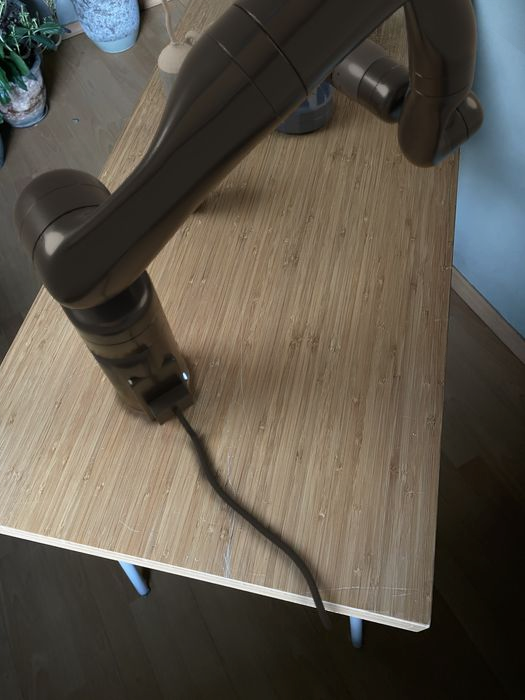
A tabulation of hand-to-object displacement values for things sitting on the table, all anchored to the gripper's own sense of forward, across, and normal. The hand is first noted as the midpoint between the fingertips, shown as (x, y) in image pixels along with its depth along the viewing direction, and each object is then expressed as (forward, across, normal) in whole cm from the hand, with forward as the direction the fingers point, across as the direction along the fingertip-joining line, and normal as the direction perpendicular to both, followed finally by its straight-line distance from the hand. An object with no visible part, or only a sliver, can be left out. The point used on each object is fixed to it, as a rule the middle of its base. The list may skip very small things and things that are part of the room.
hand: (285, 16), depth 90 cm
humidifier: (+7, +16, +16) cm, 23 cm away
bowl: (-2, 0, +16) cm, 16 cm away
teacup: (+15, +4, +16) cm, 22 cm away
